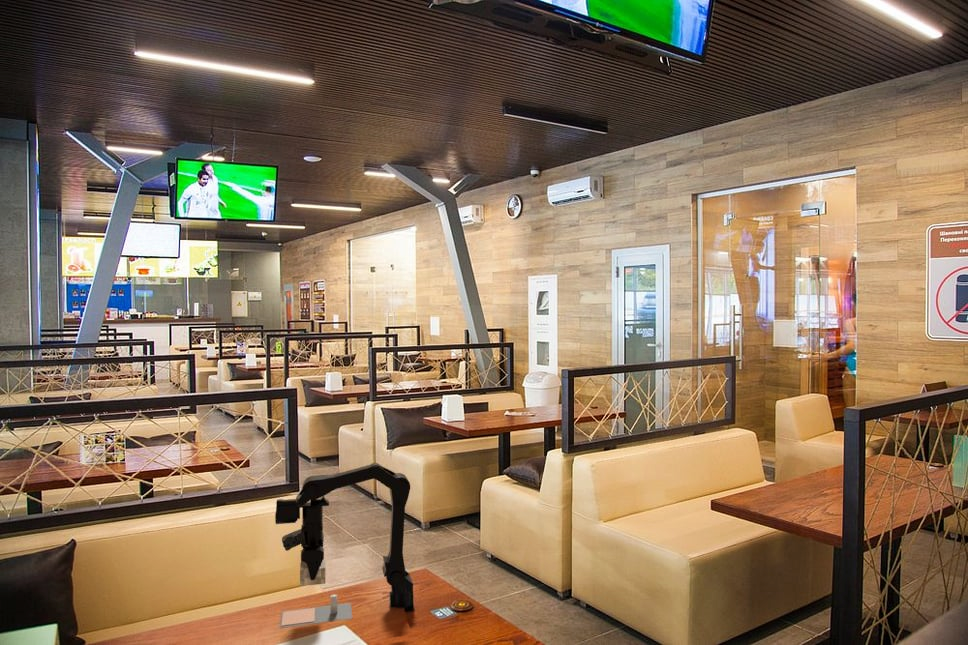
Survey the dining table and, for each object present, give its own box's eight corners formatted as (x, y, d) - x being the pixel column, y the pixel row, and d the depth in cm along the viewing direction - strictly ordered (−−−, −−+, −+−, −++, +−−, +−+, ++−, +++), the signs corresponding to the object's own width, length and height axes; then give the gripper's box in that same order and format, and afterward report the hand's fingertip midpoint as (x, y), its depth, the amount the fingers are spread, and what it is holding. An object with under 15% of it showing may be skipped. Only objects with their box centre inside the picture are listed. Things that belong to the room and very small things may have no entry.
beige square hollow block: (325, 574, 197) (325, 559, 197) (325, 583, 190) (325, 567, 190) (300, 577, 195) (300, 561, 195) (300, 586, 188) (300, 570, 188)
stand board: (350, 605, 201) (350, 586, 200) (352, 621, 190) (351, 601, 190) (281, 614, 196) (281, 595, 196) (279, 631, 185) (278, 610, 185)
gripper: (285, 514, 200) (285, 566, 200) (281, 533, 182) (282, 590, 182) (323, 511, 202) (323, 562, 202) (323, 530, 184) (324, 586, 184)
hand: (312, 575), depth 193 cm, fingers closed on beige square hollow block, 7 cm apart
